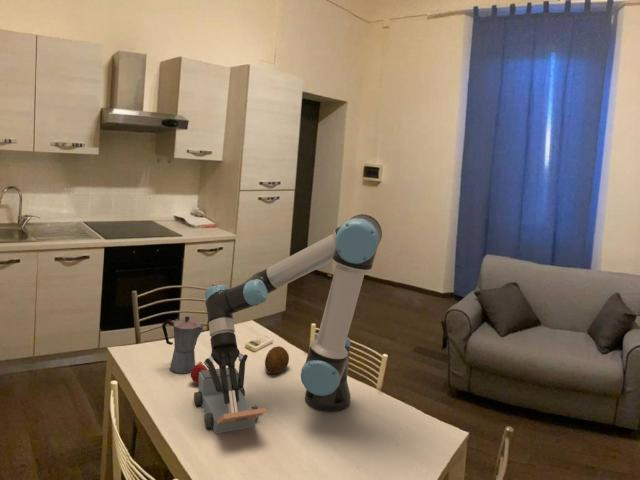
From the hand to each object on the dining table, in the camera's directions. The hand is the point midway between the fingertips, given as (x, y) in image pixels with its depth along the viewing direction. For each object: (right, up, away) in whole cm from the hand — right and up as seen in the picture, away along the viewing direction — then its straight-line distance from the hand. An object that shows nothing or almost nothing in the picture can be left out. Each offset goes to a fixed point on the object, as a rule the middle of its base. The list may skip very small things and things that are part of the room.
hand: (233, 414), depth 152 cm
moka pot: (-26, +3, +42) cm, 49 cm away
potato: (+8, +1, +47) cm, 48 cm away
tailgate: (0, -2, +4) cm, 5 cm away
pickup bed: (-5, -4, +15) cm, 16 cm away
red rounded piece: (-17, 0, +32) cm, 36 cm away
